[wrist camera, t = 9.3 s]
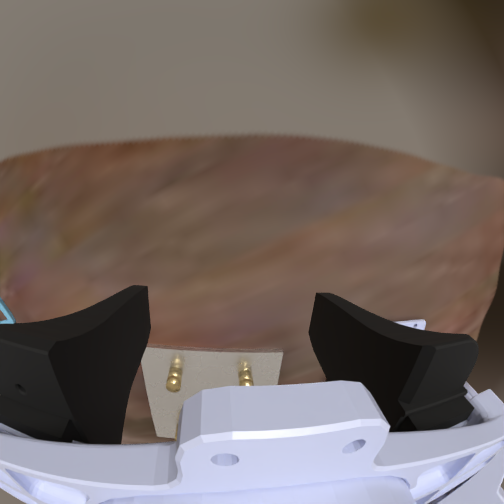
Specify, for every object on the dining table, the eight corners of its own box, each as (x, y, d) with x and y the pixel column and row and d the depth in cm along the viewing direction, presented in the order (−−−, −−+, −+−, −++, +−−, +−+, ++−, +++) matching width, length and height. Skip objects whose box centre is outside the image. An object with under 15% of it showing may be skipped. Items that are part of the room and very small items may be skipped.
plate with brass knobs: (280, 345, 24) (287, 367, 21) (264, 433, 28) (268, 453, 25) (141, 339, 22) (133, 360, 20) (158, 429, 26) (154, 450, 23)
